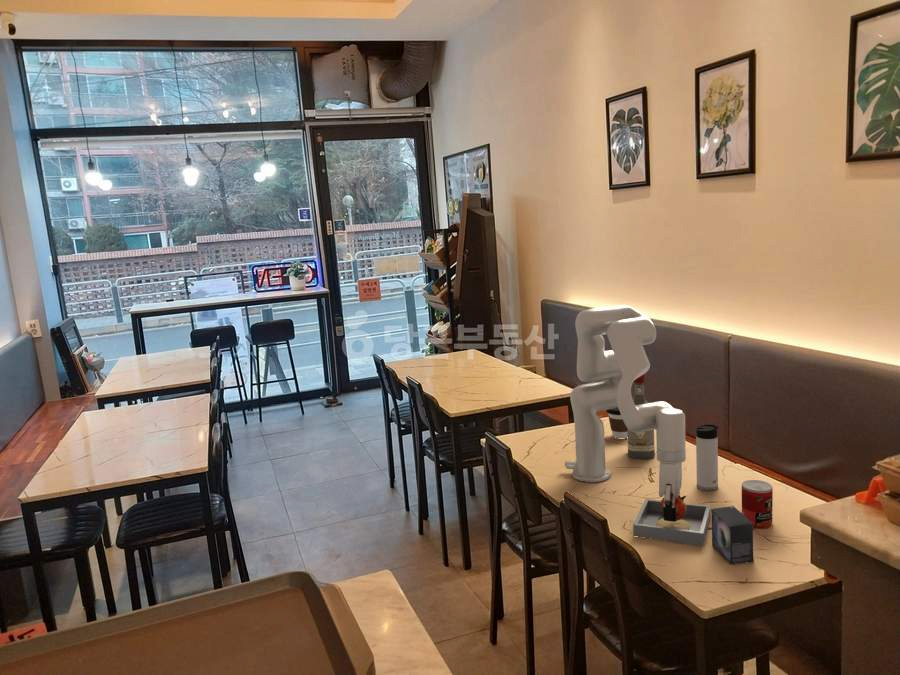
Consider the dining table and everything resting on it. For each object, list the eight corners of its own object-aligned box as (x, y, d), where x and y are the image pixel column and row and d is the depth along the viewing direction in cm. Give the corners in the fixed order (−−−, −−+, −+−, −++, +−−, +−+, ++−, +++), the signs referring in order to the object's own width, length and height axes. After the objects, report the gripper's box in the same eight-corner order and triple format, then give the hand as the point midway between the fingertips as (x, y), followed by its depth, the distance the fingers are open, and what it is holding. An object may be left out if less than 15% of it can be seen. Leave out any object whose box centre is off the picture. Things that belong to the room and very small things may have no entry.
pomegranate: (668, 533, 190) (697, 511, 188) (650, 513, 190) (679, 490, 188) (664, 524, 197) (692, 503, 195) (647, 504, 197) (675, 483, 196)
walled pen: (633, 536, 190) (633, 524, 189) (645, 509, 205) (645, 498, 205) (703, 545, 182) (703, 533, 181) (710, 517, 198) (710, 505, 197)
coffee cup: (608, 441, 267) (606, 411, 265) (606, 432, 277) (605, 403, 275) (637, 441, 265) (636, 410, 263) (634, 432, 275) (633, 402, 273)
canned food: (759, 531, 187) (759, 493, 185) (735, 521, 194) (735, 484, 192) (779, 524, 190) (779, 486, 189) (754, 514, 197) (754, 477, 196)
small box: (709, 545, 182) (709, 507, 180) (734, 542, 182) (733, 505, 180) (729, 565, 171) (728, 525, 170) (754, 562, 172) (754, 522, 170)
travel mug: (720, 491, 215) (720, 428, 211) (698, 491, 216) (697, 429, 212) (717, 483, 221) (716, 422, 217) (695, 483, 222) (694, 422, 218)
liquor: (628, 450, 256) (626, 370, 251) (654, 450, 253) (652, 370, 248) (628, 458, 247) (625, 376, 242) (654, 459, 245) (652, 376, 240)
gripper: (662, 442, 199) (663, 500, 202) (651, 463, 184) (652, 526, 187) (689, 444, 196) (690, 503, 199) (680, 466, 181) (681, 529, 184)
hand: (672, 514), depth 193 cm, fingers closed on pomegranate, 7 cm apart
